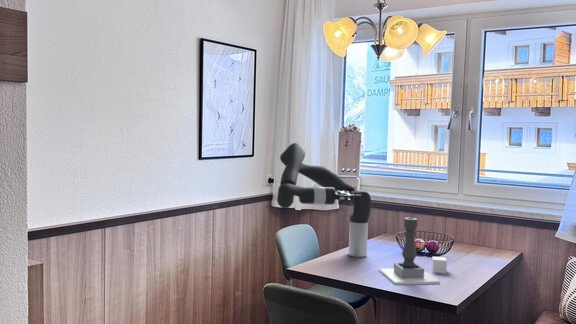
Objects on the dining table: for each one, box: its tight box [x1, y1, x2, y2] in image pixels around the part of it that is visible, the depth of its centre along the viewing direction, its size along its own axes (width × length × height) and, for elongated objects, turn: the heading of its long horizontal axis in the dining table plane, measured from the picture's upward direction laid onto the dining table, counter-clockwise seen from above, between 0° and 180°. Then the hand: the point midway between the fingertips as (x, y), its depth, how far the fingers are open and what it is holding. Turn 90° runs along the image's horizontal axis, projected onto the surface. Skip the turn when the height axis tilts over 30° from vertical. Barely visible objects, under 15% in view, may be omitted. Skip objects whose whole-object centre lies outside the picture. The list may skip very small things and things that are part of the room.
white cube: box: [431, 256, 448, 274], centre depth 240 cm, size 6×6×6 cm
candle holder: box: [401, 217, 419, 269], centre depth 229 cm, size 6×6×25 cm
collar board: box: [378, 262, 441, 286], centre depth 229 cm, size 20×20×5 cm
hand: (359, 195), depth 229 cm, fingers open, 8 cm apart
